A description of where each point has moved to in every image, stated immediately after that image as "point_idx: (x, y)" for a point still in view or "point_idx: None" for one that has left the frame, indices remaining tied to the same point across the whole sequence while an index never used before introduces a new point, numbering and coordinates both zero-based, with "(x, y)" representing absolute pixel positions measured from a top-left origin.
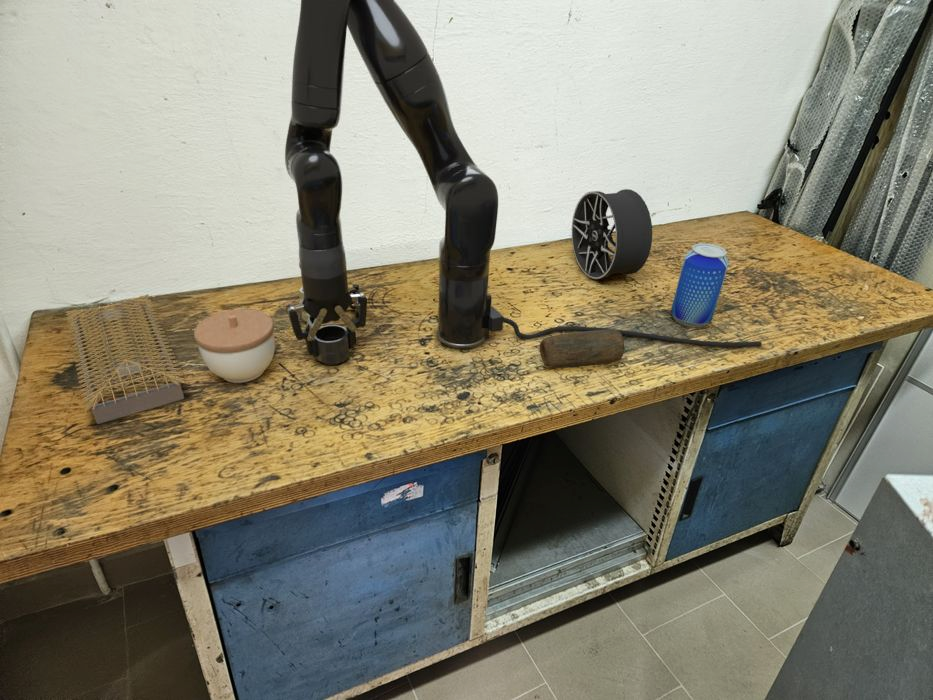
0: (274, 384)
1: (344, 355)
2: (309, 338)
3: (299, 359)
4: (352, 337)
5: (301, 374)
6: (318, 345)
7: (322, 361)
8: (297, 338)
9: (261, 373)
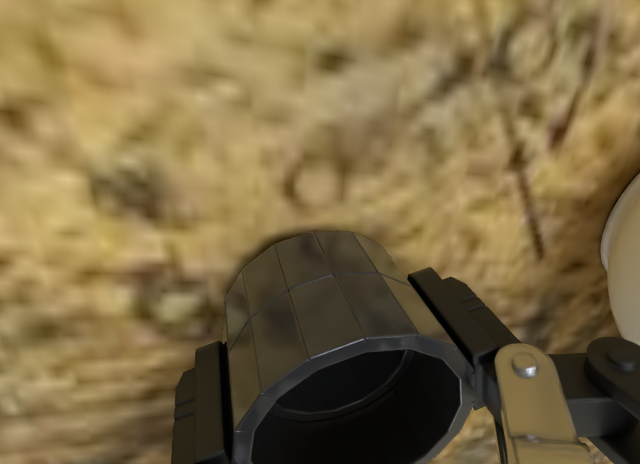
0: (615, 90)
1: (254, 281)
2: (535, 359)
3: None
4: (198, 418)
5: (479, 165)
6: (439, 322)
7: (379, 245)
8: (633, 345)
9: (637, 182)
